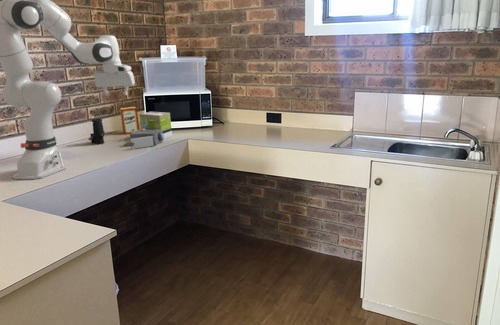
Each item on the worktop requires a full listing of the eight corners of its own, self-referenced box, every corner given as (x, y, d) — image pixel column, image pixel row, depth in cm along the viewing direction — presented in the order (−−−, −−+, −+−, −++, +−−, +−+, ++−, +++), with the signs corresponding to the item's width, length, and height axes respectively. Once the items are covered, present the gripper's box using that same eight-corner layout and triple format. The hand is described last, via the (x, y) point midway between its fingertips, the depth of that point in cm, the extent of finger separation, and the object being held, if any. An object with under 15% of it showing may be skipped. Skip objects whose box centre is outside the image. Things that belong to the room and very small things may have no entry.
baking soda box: (124, 134, 253) (120, 108, 249) (123, 132, 259) (119, 107, 255) (139, 132, 257) (136, 107, 252) (138, 131, 263) (135, 106, 258)
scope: (98, 117, 235) (107, 118, 228) (101, 140, 238) (110, 142, 232) (84, 119, 229) (93, 121, 222) (88, 143, 233) (97, 145, 226)
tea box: (141, 138, 239) (138, 113, 235) (153, 135, 247) (150, 111, 243) (161, 140, 232) (159, 114, 228) (172, 136, 240) (170, 111, 236)
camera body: (159, 145, 220) (157, 132, 218) (131, 145, 223) (129, 132, 221) (166, 140, 232) (165, 127, 230) (139, 140, 234) (138, 128, 232)
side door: (156, 145, 219) (155, 136, 217) (131, 149, 213) (130, 139, 212) (155, 144, 221) (154, 135, 219) (130, 148, 215) (129, 138, 213)
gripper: (90, 69, 204) (94, 97, 209) (129, 67, 202) (133, 95, 206) (96, 68, 210) (100, 95, 215) (134, 66, 208) (137, 93, 212)
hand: (116, 95), depth 210 cm, fingers open, 8 cm apart
